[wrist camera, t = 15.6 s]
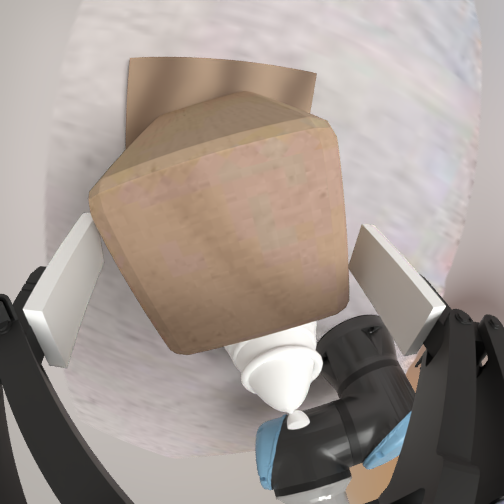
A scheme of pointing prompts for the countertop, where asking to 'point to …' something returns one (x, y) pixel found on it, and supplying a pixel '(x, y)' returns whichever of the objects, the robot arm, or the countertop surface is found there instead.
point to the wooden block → (228, 221)
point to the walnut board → (205, 86)
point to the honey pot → (280, 369)
